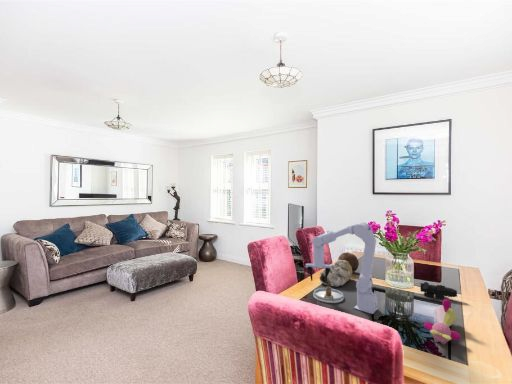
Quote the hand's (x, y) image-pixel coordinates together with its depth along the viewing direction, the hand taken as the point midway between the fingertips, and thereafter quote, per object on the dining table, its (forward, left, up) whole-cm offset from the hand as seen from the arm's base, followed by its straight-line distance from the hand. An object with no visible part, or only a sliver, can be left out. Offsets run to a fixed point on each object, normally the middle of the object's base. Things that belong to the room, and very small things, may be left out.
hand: (318, 280), depth 152 cm
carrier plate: (-4, -4, -9) cm, 11 cm away
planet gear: (-6, 0, -8) cm, 10 cm away
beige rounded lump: (+3, -31, -10) cm, 33 cm away
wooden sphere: (+7, -56, -10) cm, 57 cm away
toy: (-59, -2, -10) cm, 60 cm away
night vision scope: (-50, -47, -10) cm, 70 cm away
